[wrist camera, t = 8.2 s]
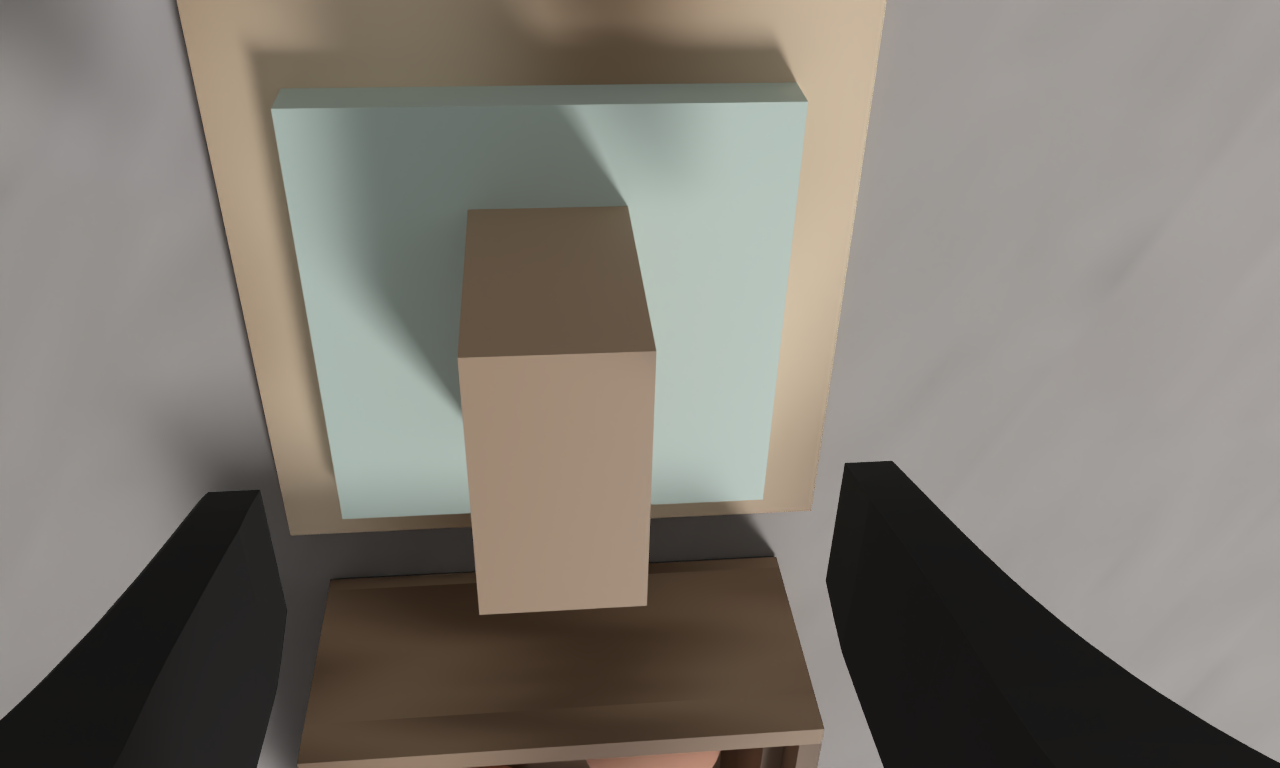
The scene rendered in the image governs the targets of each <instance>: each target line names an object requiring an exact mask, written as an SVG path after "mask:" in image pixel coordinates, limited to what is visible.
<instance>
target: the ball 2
mask: <svg viewBox="0 0 1280 768" xmlns="http://www.w3.org/2000/svg"><path fill="white" fill-rule="evenodd" d="M719 753H720V751H705V752H690V753H675V754H660V755H645V756H631V757H616V758H601V759H586V761H587V763H588V765H589V767H590V768H712V767H713V766H714V764H715V762H716V761H717V758H718V756H719Z"/></svg>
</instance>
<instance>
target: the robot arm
mask: <svg viewBox="0 0 1280 768" xmlns="http://www.w3.org/2000/svg"><path fill="white" fill-rule="evenodd" d="M826 584H827V588H828V593H829V598H830V602H831V607H832V612H833V616H834V621H835V625H836V629H837V633H838V638H839V642H840V646H841V650H842V654H843V657H844V659H845V662H846V665H847V668H848V671H849V674H850V676H851V679H852V682H853V685H854V687H855V690H856V693H857V696H858V699H859V701H860V704H861V707H862V710H863V712H864V715H865V718H866V720H867V723H868V726H869V729H870V731H871V734H872V737H873V739H874V742H875V745H876V747H877V750H878V753H879V756H880V758H881V761H882V764H883V766H884V768H1280V763H1279V762H1277V761H1275V760H1273V759H1271V758H1269V757H1267V756H1265V755H1263V754H1262V753H1260V752H1258V751H1256V750H1254V749H1252V748H1250V747H1248V746H1247V745H1245V744H1243V743H1241V742H1240V741H1238V740H1236V739H1234V738H1233V737H1231V736H1229V735H1227V734H1226V733H1224V732H1222V731H1220V730H1219V729H1217V728H1215V727H1214V726H1212V725H1210V724H1208V723H1207V722H1205V721H1204V720H1202V719H1200V718H1199V717H1197V716H1196V715H1194V714H1192V713H1191V712H1189V711H1188V710H1186V709H1184V708H1183V707H1181V706H1180V705H1178V704H1176V703H1175V702H1173V701H1172V700H1170V699H1168V698H1167V697H1165V696H1164V695H1162V694H1160V693H1159V692H1157V691H1156V690H1154V689H1153V688H1151V687H1150V686H1148V685H1147V684H1145V683H1144V682H1142V681H1141V680H1139V679H1138V678H1136V677H1135V676H1134V675H1132V674H1131V673H1129V672H1128V671H1127V670H1125V669H1124V668H1122V667H1121V666H1120V665H1118V664H1117V663H1116V662H1114V661H1113V660H1111V659H1110V658H1109V657H1107V656H1106V655H1105V654H1103V653H1102V652H1100V651H1099V650H1098V649H1096V648H1095V647H1094V646H1092V645H1091V644H1089V643H1088V642H1087V641H1085V640H1084V639H1083V638H1082V637H1080V636H1079V635H1078V634H1076V633H1075V632H1074V631H1073V630H1071V629H1070V628H1069V627H1067V626H1066V625H1065V624H1064V623H1063V622H1061V621H1060V620H1059V619H1058V618H1057V617H1055V616H1054V615H1053V614H1052V613H1051V612H1049V611H1048V610H1047V609H1046V608H1045V607H1044V606H1042V605H1041V604H1040V603H1039V602H1038V601H1036V600H1035V599H1034V598H1033V597H1032V596H1030V595H1029V594H1028V593H1027V592H1026V591H1025V590H1023V589H1022V588H1021V587H1020V586H1019V585H1018V584H1017V583H1016V582H1015V581H1013V580H1012V579H1011V578H1010V577H1009V576H1008V575H1007V574H1006V573H1005V572H1003V571H1002V570H1001V569H1000V568H999V567H998V566H997V565H996V564H995V563H994V562H993V561H992V560H991V559H990V558H989V557H988V556H987V555H985V554H984V553H983V552H982V551H981V550H980V549H979V548H978V547H977V546H976V545H975V544H974V543H973V542H972V541H971V540H970V539H969V538H968V537H967V536H966V535H965V534H964V533H963V532H962V531H961V530H960V529H959V528H958V527H957V526H956V525H955V524H954V523H953V522H952V521H951V520H950V519H949V518H948V517H947V516H946V515H945V514H944V513H943V512H942V511H941V510H940V509H939V508H938V507H937V506H936V505H935V504H934V503H933V502H932V501H931V500H930V499H929V498H928V497H927V496H926V495H925V494H924V493H923V492H922V491H921V490H920V489H919V488H918V487H917V486H916V485H915V484H914V483H913V482H912V481H911V480H910V479H909V478H908V477H907V476H906V474H905V473H904V472H903V471H902V470H901V469H900V468H899V467H898V466H897V465H896V464H895V463H894V462H893V461H880V462H859V463H845V466H844V472H843V478H842V485H841V491H840V497H839V503H838V509H837V515H836V521H835V527H834V534H833V540H832V546H831V552H830V558H829V564H828V570H827V577H826ZM286 615H287V608H286V604H285V600H284V595H283V591H282V586H281V582H280V577H279V573H278V568H277V564H276V560H275V555H274V551H273V546H272V542H271V537H270V533H269V528H268V524H267V520H266V515H265V511H264V506H263V502H262V497H261V493H260V490H248V491H226V492H208V493H207V494H206V495H205V496H204V497H203V498H202V499H201V500H200V501H199V502H198V503H197V505H196V506H195V507H194V508H193V509H192V511H191V512H190V513H189V514H188V516H187V517H186V518H185V519H184V521H183V522H182V523H181V524H180V526H179V527H178V528H177V529H176V531H175V532H174V533H173V534H172V536H171V537H170V538H169V539H168V540H167V542H166V543H165V544H164V545H163V547H162V548H161V549H160V550H159V552H158V553H157V554H156V555H155V556H154V558H153V559H152V560H151V561H150V562H149V564H148V565H147V566H146V567H145V569H144V570H143V571H142V572H141V573H140V575H139V576H138V577H137V578H136V579H135V580H134V582H133V583H132V584H131V585H130V586H129V587H128V588H127V590H126V591H125V592H124V593H123V594H122V595H121V596H120V598H119V599H118V600H117V601H116V602H115V603H114V605H113V606H112V607H111V608H110V609H109V610H108V611H107V613H106V614H105V615H104V616H103V617H102V618H101V619H100V621H99V622H98V623H97V624H96V625H95V626H94V627H93V628H92V629H91V630H90V632H89V633H88V634H87V635H86V636H85V637H84V638H83V639H82V640H81V641H80V642H79V643H78V644H77V645H76V646H75V647H74V648H73V649H72V650H71V651H70V652H69V653H68V654H67V655H66V657H65V658H64V659H63V660H62V661H61V662H60V663H59V664H58V665H57V666H56V667H55V668H54V669H53V670H52V671H51V672H50V673H49V674H48V675H47V676H46V677H45V678H44V679H43V680H42V681H41V682H40V683H39V684H38V685H37V686H36V687H35V688H34V689H33V690H32V691H31V692H30V693H29V694H28V695H27V696H26V697H25V698H24V699H23V700H22V701H21V702H20V703H19V704H18V705H16V706H15V707H14V708H13V709H12V710H11V711H10V712H9V713H8V714H7V715H6V716H5V717H4V718H2V719H1V720H0V768H257V764H258V760H259V757H260V753H261V749H262V745H263V741H264V737H265V734H266V730H267V726H268V722H269V718H270V714H271V710H272V706H273V702H274V698H275V694H276V690H277V685H278V678H279V671H280V664H281V657H282V649H283V640H284V632H285V623H286Z"/></svg>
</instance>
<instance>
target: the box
mask: <svg viewBox="0 0 1280 768" xmlns="http://www.w3.org/2000/svg"><path fill="white" fill-rule="evenodd" d="M823 734H824V726H823V723H822V719H821V715H820V712H819V708H818V705H817V701H816V698H815V694H814V690H813V687H812V683H811V680H810V676H809V673H808V669H807V665H806V662H805V658H804V655H803V651H802V648H801V644H800V640H799V637H798V633H797V630H796V626H795V623H794V619H793V616H792V612H791V608H790V605H789V601H788V598H787V594H786V591H785V587H784V583H783V580H782V576H781V573H780V569H779V566H778V562H777V558H776V557H764V558H744V559H725V560H706V561H686V562H667V563H648V590H647V606H632V607H614V608H596V609H577V610H559V611H541V612H523V613H505V614H487V615H479V603H478V592H477V580H476V572H473V573H453V574H434V575H415V576H395V577H376V578H357V579H337V580H331V581H330V586H329V592H328V597H327V603H326V608H325V614H324V619H323V624H322V630H321V635H320V641H319V646H318V652H317V657H316V663H315V668H314V674H313V679H312V685H311V690H310V695H309V701H308V706H307V712H306V717H305V723H304V728H303V734H302V739H301V745H300V750H299V755H298V761H297V766H298V768H468V767H483V766H497V765H507V766H509V767H512V768H590V767H589V765H588V763H587V761H586V759H601V758H616V757H631V756H645V755H660V754H675V753H690V752H705V751H720V753H719V756H718V758H717V761H716V762H715V764H714V766H713V767H712V768H817V766H818V761H819V755H820V750H821V744H822V739H823Z"/></svg>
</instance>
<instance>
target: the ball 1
mask: <svg viewBox="0 0 1280 768" xmlns="http://www.w3.org/2000/svg"><path fill="white" fill-rule="evenodd" d="M468 768H512V767H509V766H507V765H497V766H483V767H468Z"/></svg>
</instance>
